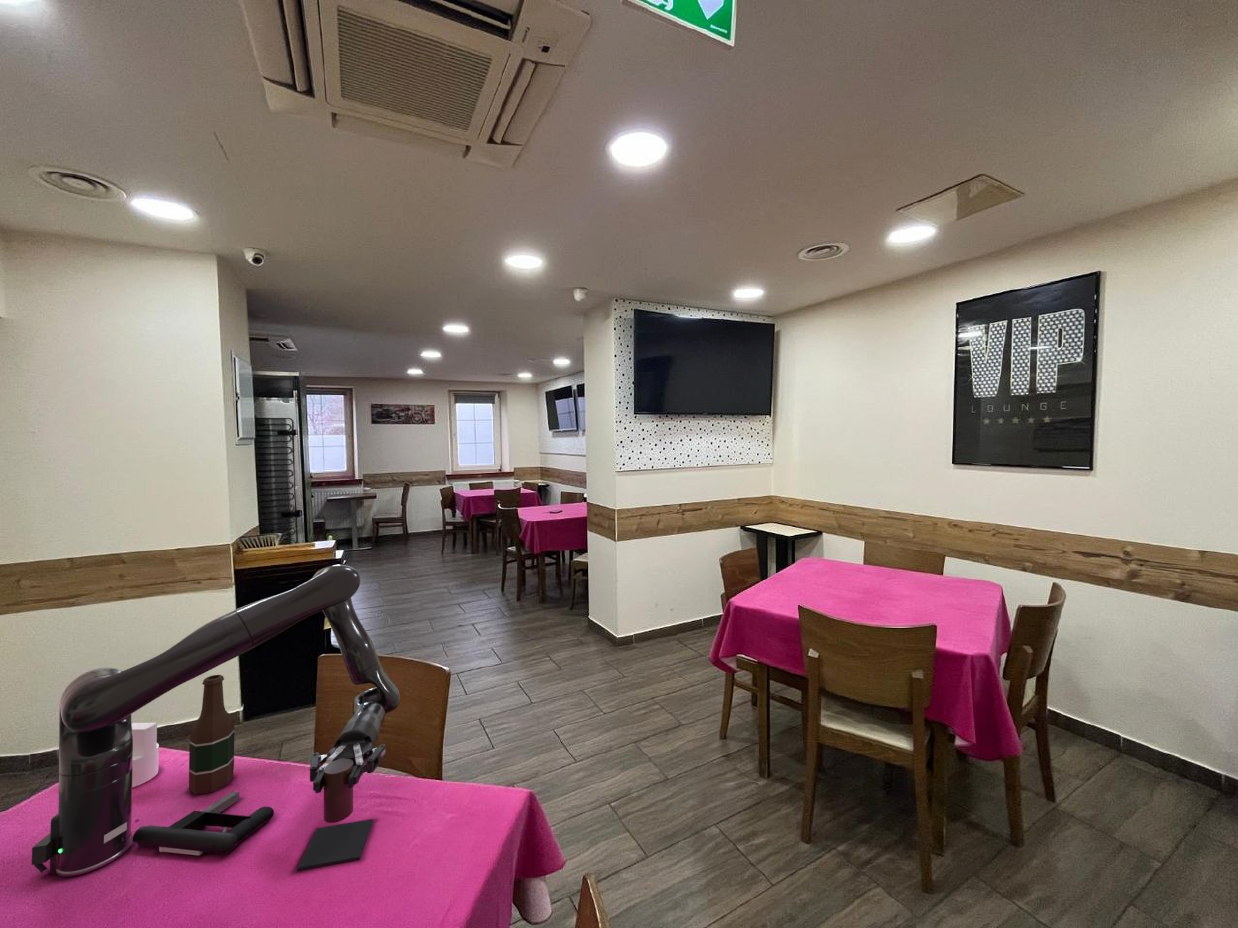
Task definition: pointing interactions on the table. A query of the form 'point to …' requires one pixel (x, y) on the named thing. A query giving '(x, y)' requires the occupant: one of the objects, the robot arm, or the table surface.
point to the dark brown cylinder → (337, 791)
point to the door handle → (195, 841)
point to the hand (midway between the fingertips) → (334, 785)
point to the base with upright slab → (144, 752)
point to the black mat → (336, 844)
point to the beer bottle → (211, 742)
